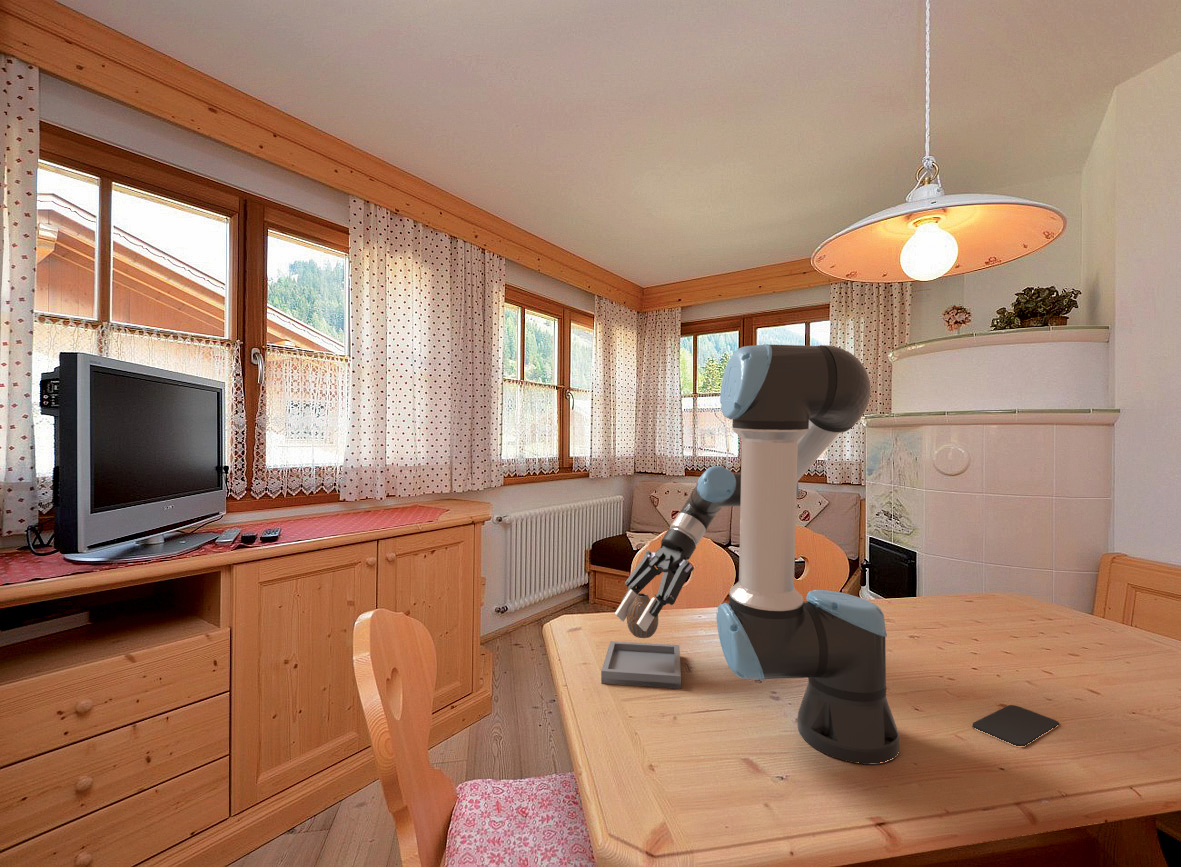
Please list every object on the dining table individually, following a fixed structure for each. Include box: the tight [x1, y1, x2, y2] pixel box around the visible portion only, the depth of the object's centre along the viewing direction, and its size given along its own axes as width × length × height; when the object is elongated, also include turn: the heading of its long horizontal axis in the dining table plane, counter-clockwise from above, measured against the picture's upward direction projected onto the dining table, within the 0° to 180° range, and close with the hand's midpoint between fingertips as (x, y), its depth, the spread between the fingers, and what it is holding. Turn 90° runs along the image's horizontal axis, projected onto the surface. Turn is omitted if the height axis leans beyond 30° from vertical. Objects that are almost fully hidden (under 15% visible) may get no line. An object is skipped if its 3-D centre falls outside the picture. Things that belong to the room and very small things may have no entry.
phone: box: [972, 704, 1060, 746], centre depth 89 cm, size 7×1×15 cm
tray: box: [600, 640, 682, 690], centre depth 112 cm, size 16×16×2 cm
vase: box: [626, 592, 659, 639], centre depth 113 cm, size 7×7×9 cm
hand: (629, 622), depth 110 cm, fingers closed on vase, 7 cm apart
